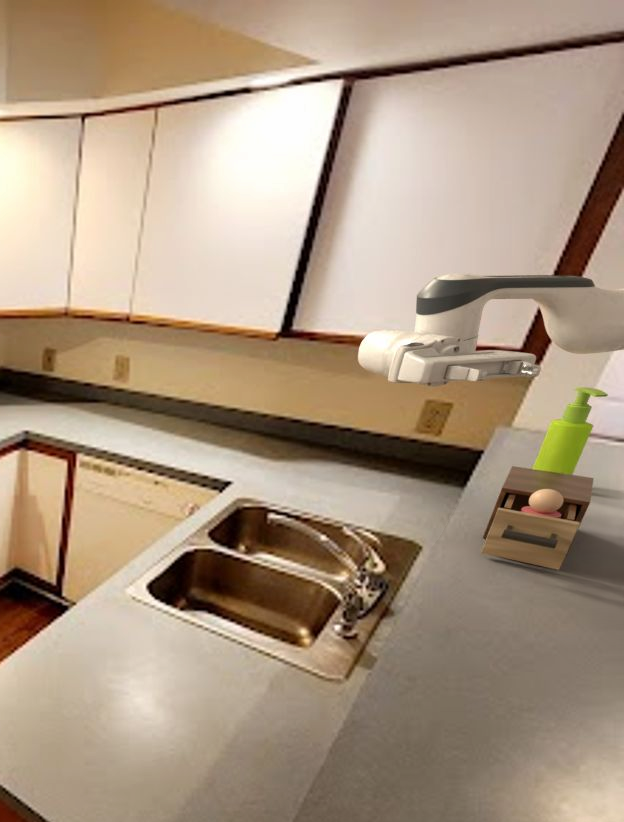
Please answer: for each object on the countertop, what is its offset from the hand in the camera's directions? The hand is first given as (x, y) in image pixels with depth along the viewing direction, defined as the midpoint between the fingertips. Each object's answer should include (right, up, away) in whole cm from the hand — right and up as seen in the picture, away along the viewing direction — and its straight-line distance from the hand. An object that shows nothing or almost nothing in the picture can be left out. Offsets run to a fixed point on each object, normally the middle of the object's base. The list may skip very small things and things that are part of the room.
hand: (509, 374), depth 101 cm
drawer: (+2, -29, 0) cm, 29 cm away
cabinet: (+11, -26, +8) cm, 29 cm away
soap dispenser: (+34, -16, +26) cm, 46 cm away
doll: (+3, -28, 0) cm, 28 cm away
